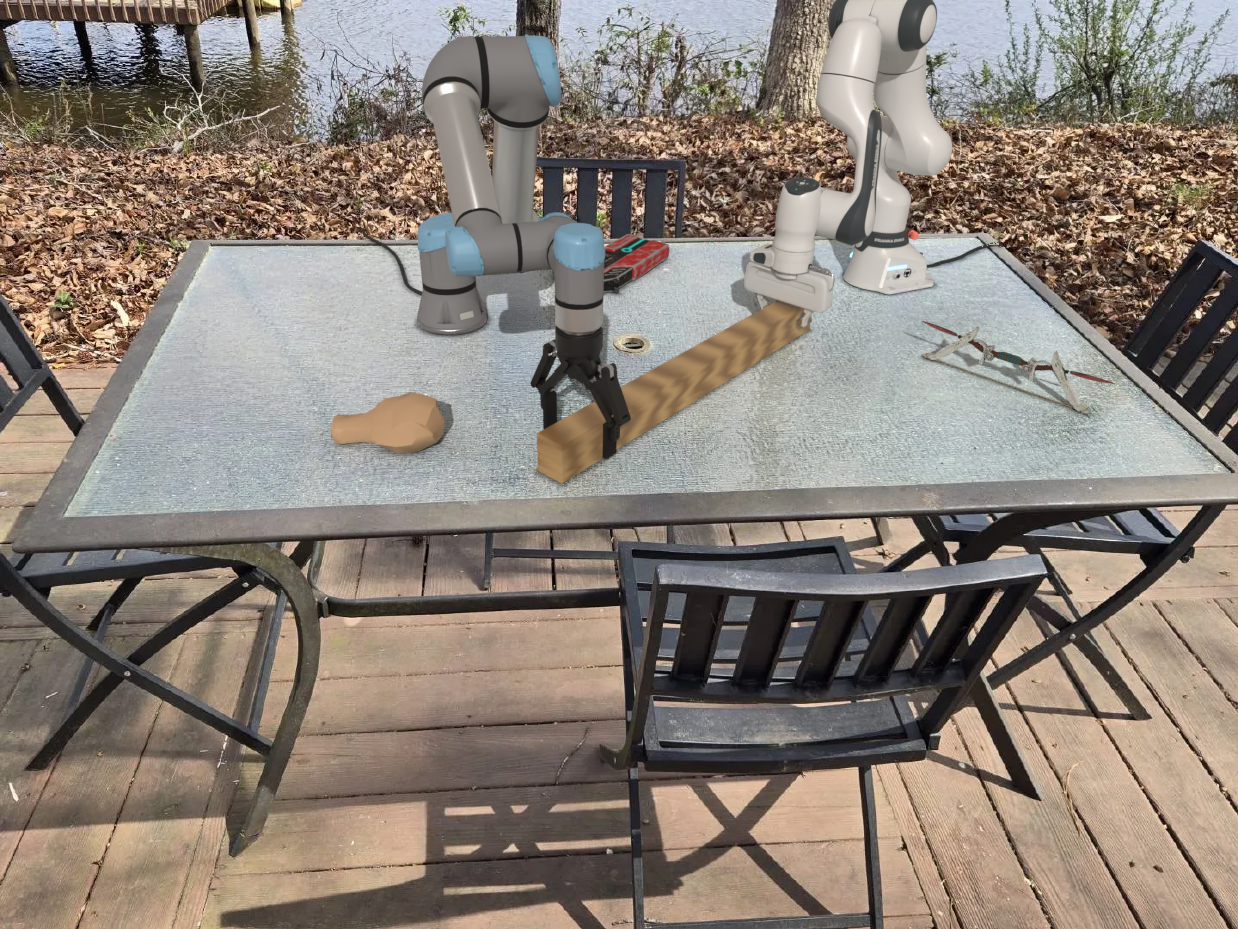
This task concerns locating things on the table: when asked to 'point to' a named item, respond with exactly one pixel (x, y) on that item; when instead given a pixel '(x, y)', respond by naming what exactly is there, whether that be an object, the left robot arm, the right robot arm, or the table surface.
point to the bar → (668, 389)
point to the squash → (393, 424)
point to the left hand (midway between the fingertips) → (579, 440)
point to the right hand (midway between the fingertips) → (783, 319)
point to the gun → (630, 260)
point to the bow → (1026, 366)
